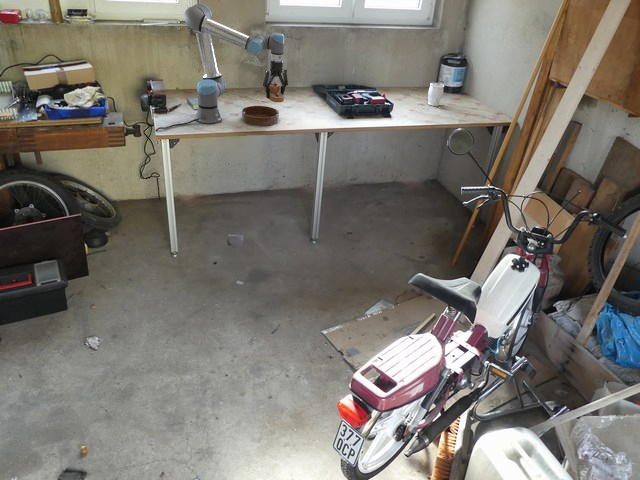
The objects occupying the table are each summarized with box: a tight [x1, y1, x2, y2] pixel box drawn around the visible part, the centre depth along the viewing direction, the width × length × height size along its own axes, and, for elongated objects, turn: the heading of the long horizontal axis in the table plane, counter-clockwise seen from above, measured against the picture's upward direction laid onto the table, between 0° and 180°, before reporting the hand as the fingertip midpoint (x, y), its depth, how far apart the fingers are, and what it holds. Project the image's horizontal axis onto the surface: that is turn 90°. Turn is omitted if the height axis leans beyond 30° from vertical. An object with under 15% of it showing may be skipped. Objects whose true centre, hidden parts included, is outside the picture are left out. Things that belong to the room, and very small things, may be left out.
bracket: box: [268, 81, 285, 103], centre depth 328 cm, size 18×8×7 cm, turn 19°
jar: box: [427, 82, 445, 107], centre depth 391 cm, size 11×10×15 cm
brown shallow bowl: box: [241, 105, 280, 127], centre depth 335 cm, size 23×23×6 cm
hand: (274, 97), depth 330 cm, fingers closed on bracket, 9 cm apart
